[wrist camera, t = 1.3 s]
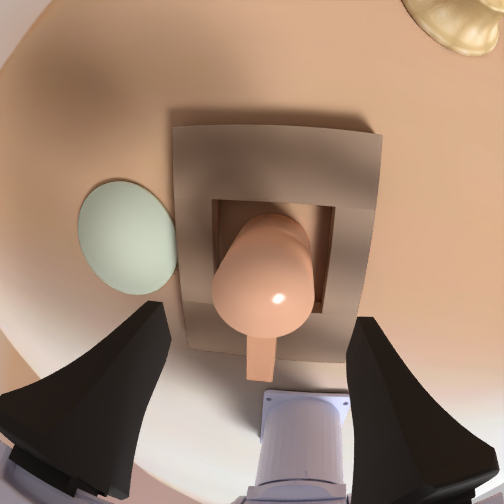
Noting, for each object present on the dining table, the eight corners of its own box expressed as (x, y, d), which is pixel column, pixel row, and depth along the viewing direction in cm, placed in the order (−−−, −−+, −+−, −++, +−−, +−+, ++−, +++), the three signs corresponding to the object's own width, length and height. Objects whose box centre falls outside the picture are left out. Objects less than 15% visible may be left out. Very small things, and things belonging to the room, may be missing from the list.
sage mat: (183, 299, 22) (182, 301, 22) (90, 285, 24) (88, 287, 23) (175, 179, 19) (173, 180, 19) (73, 183, 20) (71, 184, 20)
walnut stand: (342, 350, 22) (344, 363, 21) (193, 336, 24) (187, 348, 22) (375, 134, 16) (382, 134, 15) (181, 126, 18) (172, 126, 16)
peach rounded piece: (235, 211, 19) (209, 244, 14) (313, 216, 19) (320, 253, 13) (235, 326, 23) (217, 382, 17) (301, 332, 22) (299, 391, 17)
